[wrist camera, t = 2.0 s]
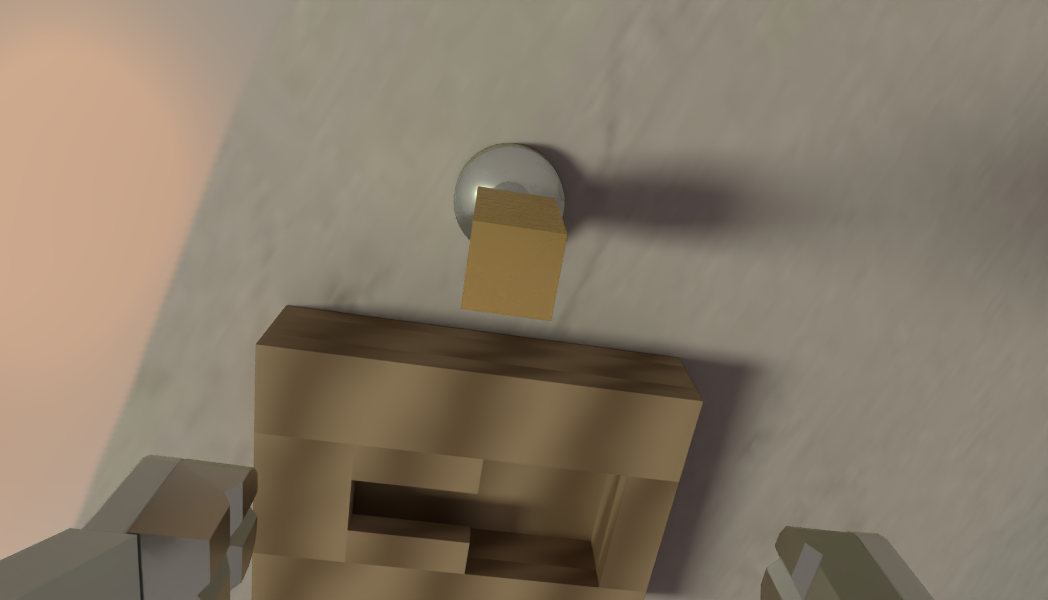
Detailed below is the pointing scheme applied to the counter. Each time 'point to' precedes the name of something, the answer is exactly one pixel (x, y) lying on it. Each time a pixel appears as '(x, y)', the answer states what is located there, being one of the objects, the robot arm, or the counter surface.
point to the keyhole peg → (511, 231)
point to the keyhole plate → (459, 462)
